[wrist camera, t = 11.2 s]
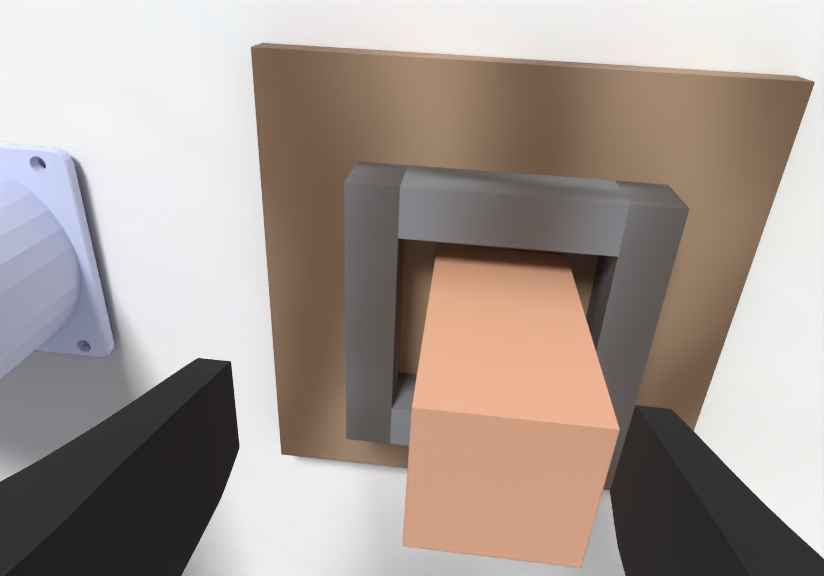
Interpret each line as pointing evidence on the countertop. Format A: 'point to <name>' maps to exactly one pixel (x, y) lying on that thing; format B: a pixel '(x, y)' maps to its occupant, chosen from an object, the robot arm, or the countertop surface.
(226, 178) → the countertop surface
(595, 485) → the peg
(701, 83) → the peg holder
